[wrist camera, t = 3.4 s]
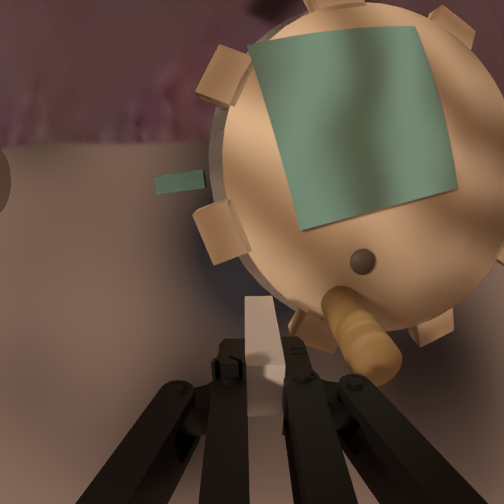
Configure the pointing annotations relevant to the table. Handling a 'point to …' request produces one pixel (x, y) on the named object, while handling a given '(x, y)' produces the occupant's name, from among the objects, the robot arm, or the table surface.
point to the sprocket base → (221, 174)
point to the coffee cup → (4, 181)
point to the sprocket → (361, 173)
